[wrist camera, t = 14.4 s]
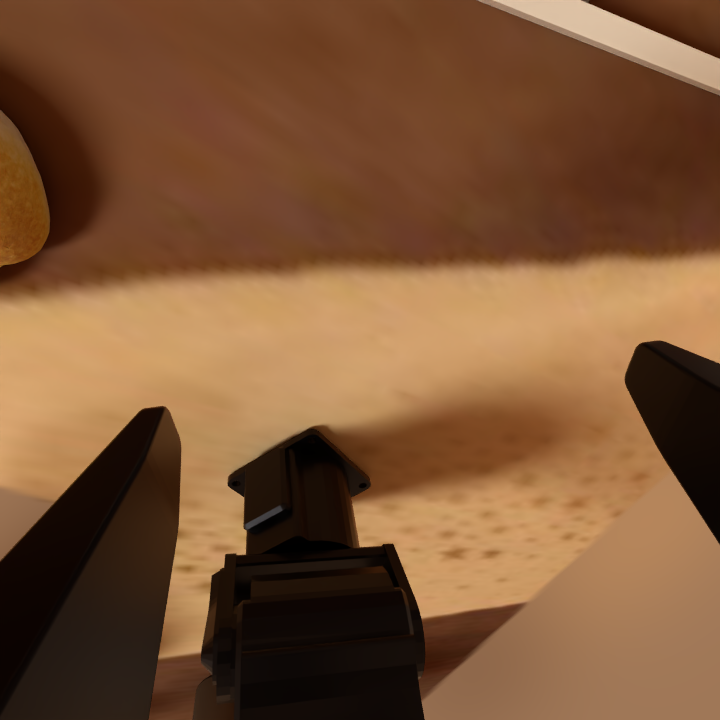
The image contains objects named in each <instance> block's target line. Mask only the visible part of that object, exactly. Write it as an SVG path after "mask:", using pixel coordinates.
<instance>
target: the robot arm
mask: <svg viewBox="0 0 720 720" xmlns="http://www.w3.org/2000/svg"><path fill="white" fill-rule="evenodd" d="M625 384H626V387H627V389H628V391H629V393H630V395H631V397H632V399H633V401H634V403H635V405H636V407H637V409H638V411H639V413H640V415H641V417H642V419H643V421H644V423H645V424H646V426H647V428H648V430H649V432H650V434H651V436H652V438H653V440H654V442H655V444H656V446H657V448H658V449H659V451H660V453H661V454H662V456H663V458H664V459H665V461H666V463H667V464H668V466H669V467H670V469H671V470H672V472H673V473H674V475H675V476H676V478H677V479H678V481H679V482H680V484H681V486H682V487H683V489H684V490H685V492H686V493H687V495H688V496H689V498H690V499H691V501H692V502H693V504H694V506H695V507H696V509H697V510H698V512H699V513H700V515H701V516H702V518H703V519H704V521H705V523H706V524H707V526H708V527H709V529H710V530H711V532H712V533H713V535H714V536H715V538H716V540H717V541H718V543H719V544H720V364H719V363H716V362H714V361H711V360H709V359H706V358H704V357H702V356H699V355H697V354H694V353H692V352H689V351H687V350H684V349H682V348H679V347H677V346H674V345H672V344H669V343H667V342H664V341H651V342H643V343H641V344H639V345H638V346H637V347H636V349H635V351H634V353H633V356H632V358H631V361H630V363H629V366H628V369H627V371H626V374H625ZM311 437H312V439H311ZM180 474H181V441H180V437H179V434H178V432H177V429H176V427H175V424H174V422H173V419H172V416H171V414H170V412H169V410H168V409H167V407H164V406H159V407H151V408H145V409H142V410H141V411H139V412H138V413H137V414H136V416H135V417H134V418H133V419H132V420H131V421H130V422H129V423H128V424H127V425H126V426H125V427H124V428H123V430H122V431H121V432H120V433H119V434H118V435H117V436H116V437H115V438H114V439H113V440H112V441H111V442H110V443H109V445H108V446H107V447H106V448H105V449H104V450H103V451H102V452H101V453H100V454H99V455H98V456H97V457H96V459H95V460H94V461H93V462H92V463H91V464H90V465H89V466H88V467H87V468H86V469H85V470H84V471H83V472H82V474H81V475H80V476H79V477H78V478H77V479H76V480H75V481H74V482H73V483H72V484H71V485H70V486H69V487H68V489H67V490H66V491H65V492H64V493H63V494H62V495H61V496H60V497H59V498H58V499H57V500H56V501H55V503H54V504H53V505H52V506H51V507H50V508H49V509H48V510H47V511H46V512H45V513H44V514H43V515H42V517H41V518H40V519H39V520H38V521H37V522H36V523H35V524H34V525H33V526H32V527H31V528H30V529H29V530H28V532H27V533H26V534H25V535H24V536H23V537H22V538H21V539H20V540H19V541H18V542H17V543H16V544H15V546H14V547H13V548H12V549H11V550H10V551H9V552H8V553H7V554H6V555H5V556H4V557H3V558H2V559H1V561H0V720H148V718H149V712H150V705H151V699H152V693H153V686H154V680H155V674H156V667H157V661H158V655H159V648H160V642H161V636H162V629H163V623H164V617H165V610H166V604H167V598H168V591H169V585H170V579H171V572H172V566H173V560H174V554H175V547H176V541H177V533H178V525H179V503H180ZM228 486H229V487H230V488H231V489H233V490H234V491H236V492H237V493H239V494H240V495H242V496H243V497H244V526H243V527H244V529H245V530H247V537H246V555H236V553H235V554H226V555H225V565H224V568H222V569H220V571H219V572H217V573H215V574H214V575H212V580H211V592H210V603H209V611H208V617H207V622H206V628H205V633H204V639H203V644H202V651H201V663H202V665H203V666H204V667H205V668H206V669H207V670H208V671H209V672H210V673H211V674H212V683H213V685H216V700H217V704H225V703H234V720H425V719H424V714H423V708H422V702H421V696H420V690H419V682H418V679H420V678H421V677H422V674H423V671H424V664H425V641H424V632H423V626H422V620H421V616H420V612H419V608H418V605H417V602H416V599H415V597H414V594H413V592H412V589H411V587H410V584H409V582H408V579H407V577H406V574H405V572H404V569H403V567H402V564H401V562H400V559H399V557H398V554H397V552H396V549H395V547H394V545H393V544H383V545H382V546H375V547H360V546H359V541H358V535H357V529H356V523H355V517H354V511H353V505H352V500H351V497H353V496H355V495H357V494H359V493H361V492H363V491H365V490H366V489H368V488H369V487H370V479H369V477H368V476H367V475H366V474H365V473H363V472H362V471H361V470H360V469H359V468H358V467H357V466H356V465H355V464H354V463H353V462H351V461H350V460H349V459H348V458H347V457H346V456H345V455H344V454H343V453H342V452H341V451H339V450H338V449H337V448H336V447H335V446H334V445H333V444H332V443H331V442H330V441H329V440H327V439H326V438H325V437H324V436H323V435H322V434H321V433H320V432H319V431H317V430H314V429H311V430H307V431H305V432H303V433H302V434H300V435H298V436H296V437H295V438H293V439H291V440H290V441H288V442H286V443H284V444H283V445H281V446H279V447H277V448H276V449H274V450H272V451H270V452H269V453H267V454H265V455H264V456H262V457H260V458H258V459H257V460H255V461H253V462H251V463H250V464H248V465H246V466H244V467H243V468H241V469H239V470H238V471H236V472H234V473H232V474H231V475H229V477H228Z"/></svg>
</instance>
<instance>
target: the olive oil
mask: <svg viewBox="0 0 720 720" xmlns="http://www.w3.org/2000/svg"><path fill="white" fill-rule="evenodd" d="M193 720H234V703H225V704H217V700H216V685H213V683H212V676H210V677H208V678H207V679H205V680H204V681H203V682H202V683H201V684H200V685H199V686H198V688H197V690H196V695H195V703H194V712H193Z"/></svg>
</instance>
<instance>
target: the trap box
mask: <svg viewBox="0 0 720 720" xmlns="http://www.w3.org/2000/svg"><path fill="white" fill-rule="evenodd" d="M478 1H480V2H483V3H485V4H488V5H490V6H493V7H495V8H498V9H500V10H503V11H506V12H508V13H511V14H513V15H516V16H518V17H521V18H523V19H526V20H528V21H531V22H534V23H536V24H539V25H541V26H544V27H546V28H549V29H551V30H554V31H556V32H559V33H562V34H564V35H567V36H569V37H572V38H574V39H577V40H579V41H582V42H584V43H587V44H590V45H592V46H595V47H597V48H600V49H602V50H605V51H607V52H610V53H612V54H615V55H618V56H620V57H623V58H625V59H628V60H630V61H633V62H635V63H638V64H640V65H643V66H646V67H648V68H651V69H653V70H656V71H658V72H661V73H663V74H666V75H668V76H671V77H673V78H676V79H679V80H681V81H684V82H686V83H689V84H691V85H694V86H696V87H699V88H701V89H704V90H707V91H709V92H712V93H714V94H717V95H719V96H720V59H718V58H716V57H714V56H711V55H709V54H707V53H704V52H702V51H700V50H697V49H695V48H692V47H690V46H688V45H685V44H683V43H681V42H678V41H676V40H674V39H671V38H669V37H666V36H664V35H662V34H659V33H657V32H655V31H652V30H650V29H648V28H645V27H643V26H640V25H638V24H636V23H633V22H631V21H629V20H626V19H624V18H622V17H619V16H617V15H614V14H612V13H610V12H607V11H605V10H603V9H600V8H598V7H596V6H593V5H591V4H588V2H589V0H478Z"/></svg>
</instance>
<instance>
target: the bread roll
mask: <svg viewBox="0 0 720 720" xmlns="http://www.w3.org/2000/svg"><path fill="white" fill-rule="evenodd" d="M49 230H50V213H49V207H48V202H47V198H46V194H45V190H44V186H43V183H42V179H41V176H40V174H39V171H38V169H37V167H36V164H35V162H34V160H33V157H32V155H31V153H30V150H29V148H28V147H27V145H26V143H25V141H24V139H23V137H22V135H21V134H20V132H19V130H18V129H17V127H16V126H15V125H14V124H13V122H12V121H11V120H10V119H9V118H8V117H7V116H6V115H5V114H4V113H3V112H2V111H1V110H0V268H1V267H2V266H3V265H8V264H15V263H18V262H21V261H24V260H27V259H29V258H30V257H32V256H33V255H35V254H36V253H37V252H38V251H40V250H41V248H42V247H43V245H44V243H45V241H46V239H47V237H48V234H49Z"/></svg>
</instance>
